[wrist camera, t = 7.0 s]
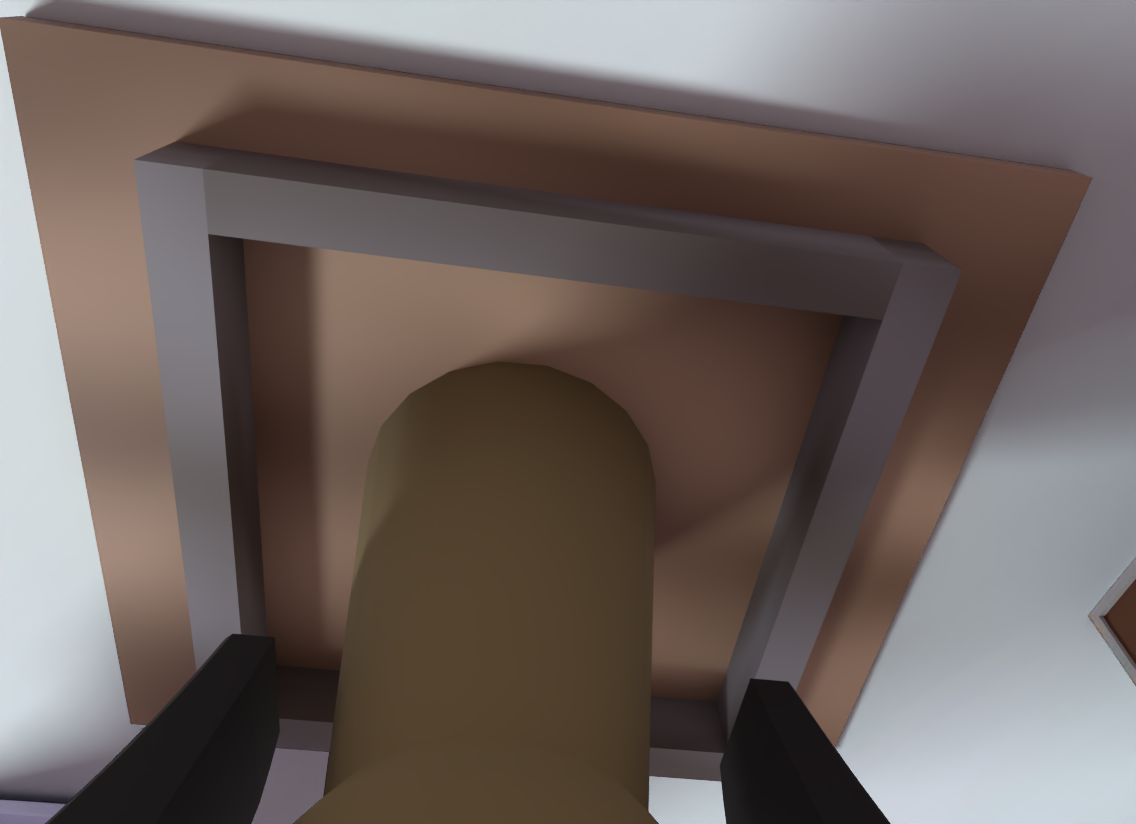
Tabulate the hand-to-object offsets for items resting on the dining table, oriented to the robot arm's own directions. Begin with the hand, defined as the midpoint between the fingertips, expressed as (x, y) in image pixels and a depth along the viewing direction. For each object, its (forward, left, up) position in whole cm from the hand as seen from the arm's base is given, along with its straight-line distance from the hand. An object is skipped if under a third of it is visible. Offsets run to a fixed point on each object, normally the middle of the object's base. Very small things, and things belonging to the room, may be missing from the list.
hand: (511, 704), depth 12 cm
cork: (0, 0, -6) cm, 6 cm away
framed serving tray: (0, 0, -6) cm, 6 cm away
